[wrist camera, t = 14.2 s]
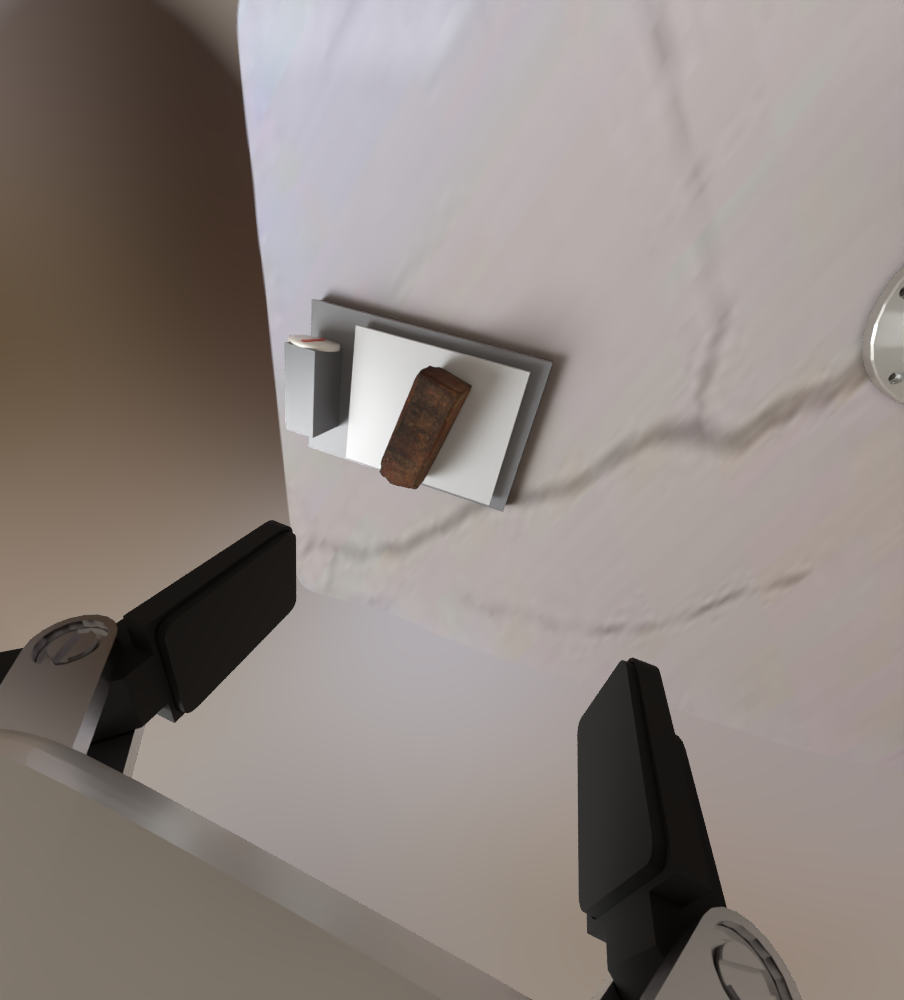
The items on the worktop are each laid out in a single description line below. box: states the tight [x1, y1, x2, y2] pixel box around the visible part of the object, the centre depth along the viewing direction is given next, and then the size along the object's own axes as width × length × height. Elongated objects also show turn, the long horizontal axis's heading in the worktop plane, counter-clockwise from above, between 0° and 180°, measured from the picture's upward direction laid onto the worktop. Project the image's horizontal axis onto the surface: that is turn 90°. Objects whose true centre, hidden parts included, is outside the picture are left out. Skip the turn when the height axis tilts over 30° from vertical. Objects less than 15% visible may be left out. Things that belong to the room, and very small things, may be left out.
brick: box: [380, 366, 472, 489], centre depth 32 cm, size 11×4×5 cm, turn 153°
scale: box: [285, 299, 553, 512], centre depth 35 cm, size 23×15×6 cm, turn 77°
